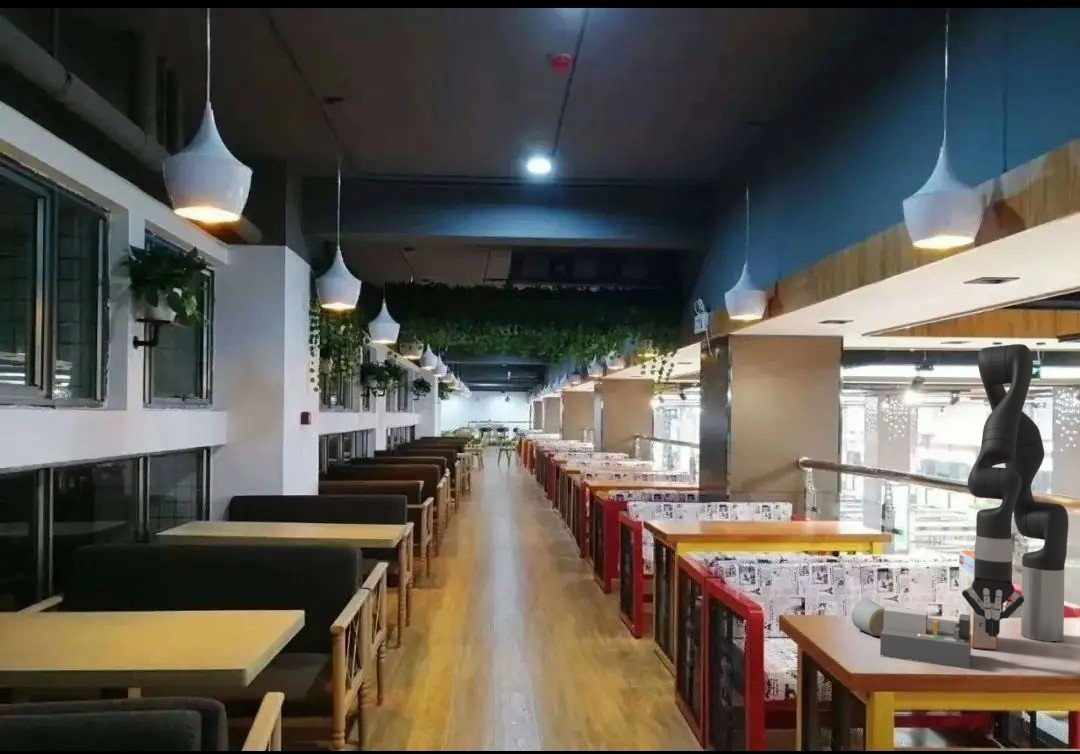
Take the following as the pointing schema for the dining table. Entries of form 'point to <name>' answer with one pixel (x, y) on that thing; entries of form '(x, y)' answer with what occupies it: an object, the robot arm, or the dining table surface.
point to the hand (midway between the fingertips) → (992, 635)
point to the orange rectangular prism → (934, 628)
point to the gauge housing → (921, 639)
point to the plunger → (952, 626)
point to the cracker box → (976, 621)
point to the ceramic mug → (868, 617)
